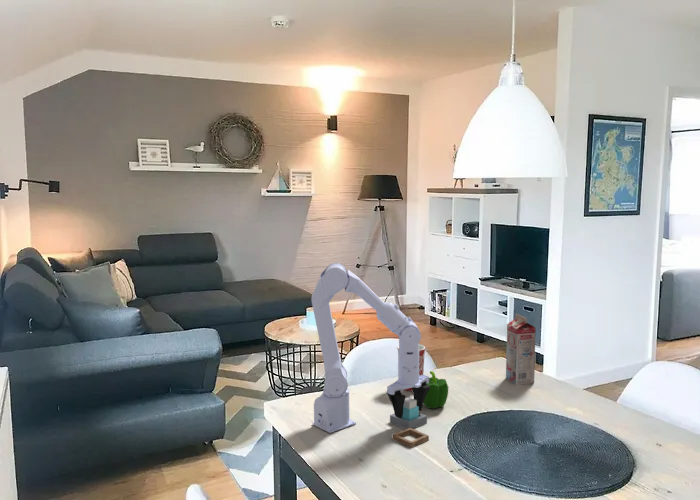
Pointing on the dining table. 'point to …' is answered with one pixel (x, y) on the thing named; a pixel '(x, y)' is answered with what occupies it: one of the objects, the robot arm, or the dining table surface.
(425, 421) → the port
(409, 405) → the plug
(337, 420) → the robot arm
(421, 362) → the mug
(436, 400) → the bell pepper
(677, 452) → the dining table surface
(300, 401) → the dining table surface
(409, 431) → the wooden square frame
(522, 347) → the juice carton
